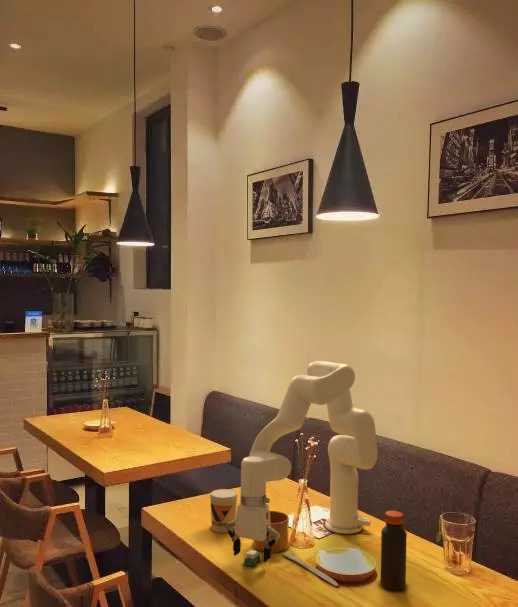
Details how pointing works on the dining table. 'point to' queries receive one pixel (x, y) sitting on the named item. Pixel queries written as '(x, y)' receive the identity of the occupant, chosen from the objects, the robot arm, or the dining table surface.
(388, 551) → the bottle
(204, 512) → the dining table surface
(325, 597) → the dining table surface
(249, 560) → the toy car
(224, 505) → the coffee cup
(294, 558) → the butter knife
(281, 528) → the tumbler
